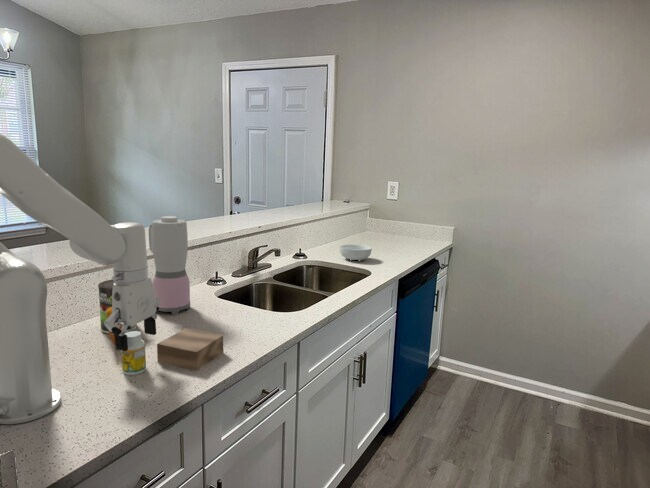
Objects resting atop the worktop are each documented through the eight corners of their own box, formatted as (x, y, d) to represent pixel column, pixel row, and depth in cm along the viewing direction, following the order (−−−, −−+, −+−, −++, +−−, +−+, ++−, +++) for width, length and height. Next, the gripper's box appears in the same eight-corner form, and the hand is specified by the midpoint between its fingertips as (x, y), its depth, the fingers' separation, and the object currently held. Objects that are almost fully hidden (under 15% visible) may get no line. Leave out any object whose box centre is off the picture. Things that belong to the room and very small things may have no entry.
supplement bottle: (150, 369, 113) (149, 333, 111) (130, 377, 108) (128, 340, 106) (138, 363, 116) (136, 328, 114) (118, 371, 111) (116, 334, 110)
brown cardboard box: (196, 370, 113) (196, 352, 112) (157, 362, 117) (156, 343, 116) (223, 352, 124) (223, 335, 123) (186, 344, 128) (186, 328, 127)
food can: (117, 336, 132) (114, 290, 129) (92, 329, 136) (90, 284, 133) (145, 325, 141) (143, 281, 138) (121, 319, 145) (119, 277, 142)
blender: (198, 307, 159) (196, 217, 153) (171, 317, 148) (168, 221, 142) (165, 299, 166) (163, 212, 160) (138, 308, 155) (134, 216, 149)
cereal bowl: (374, 258, 247) (375, 246, 246) (364, 264, 233) (365, 251, 231) (346, 255, 254) (346, 242, 253) (334, 260, 239) (335, 247, 238)
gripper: (115, 287, 98) (122, 359, 102) (168, 267, 114) (172, 330, 118) (89, 283, 101) (96, 354, 105) (144, 264, 117) (149, 326, 120)
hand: (136, 341), depth 111 cm, fingers open, 9 cm apart
